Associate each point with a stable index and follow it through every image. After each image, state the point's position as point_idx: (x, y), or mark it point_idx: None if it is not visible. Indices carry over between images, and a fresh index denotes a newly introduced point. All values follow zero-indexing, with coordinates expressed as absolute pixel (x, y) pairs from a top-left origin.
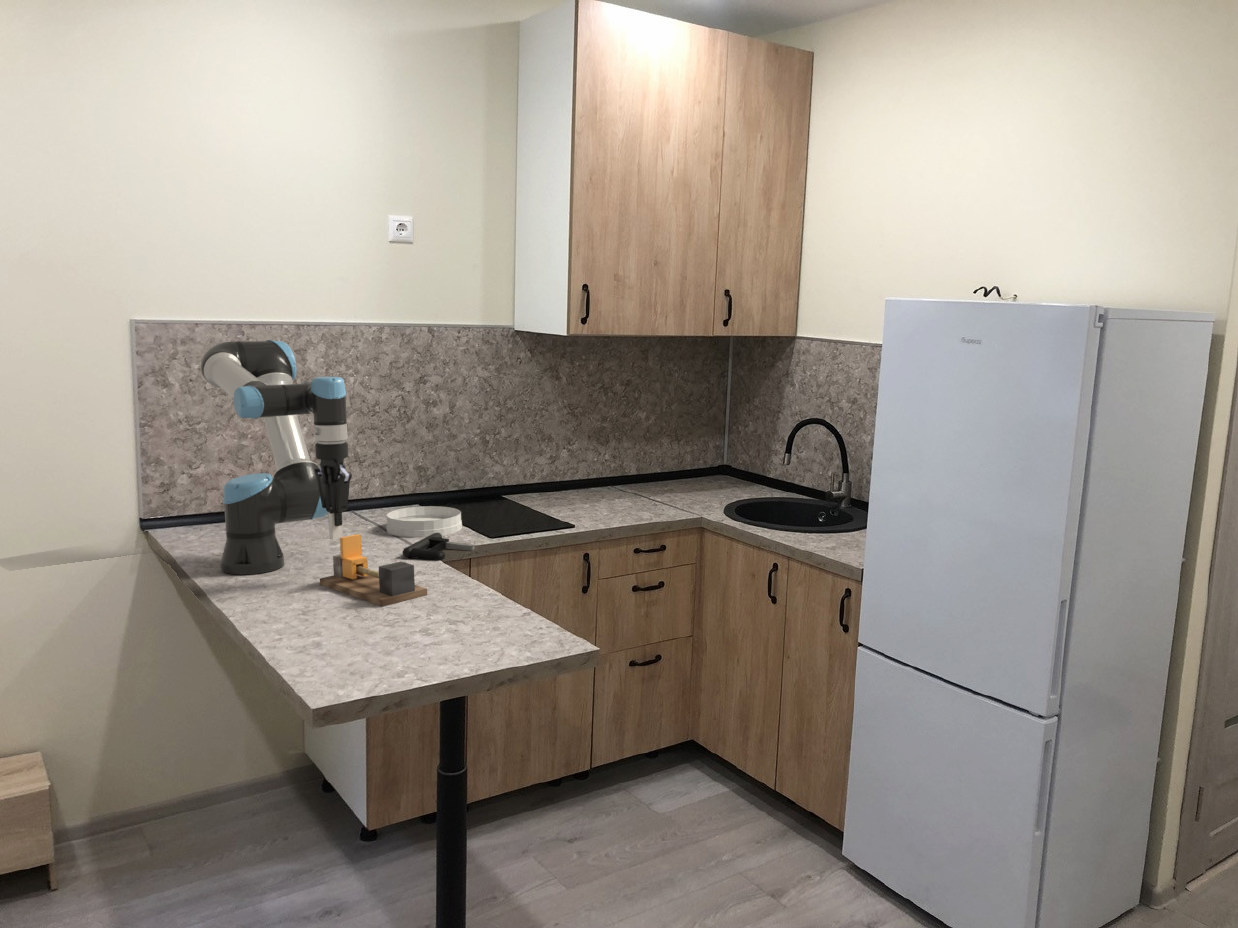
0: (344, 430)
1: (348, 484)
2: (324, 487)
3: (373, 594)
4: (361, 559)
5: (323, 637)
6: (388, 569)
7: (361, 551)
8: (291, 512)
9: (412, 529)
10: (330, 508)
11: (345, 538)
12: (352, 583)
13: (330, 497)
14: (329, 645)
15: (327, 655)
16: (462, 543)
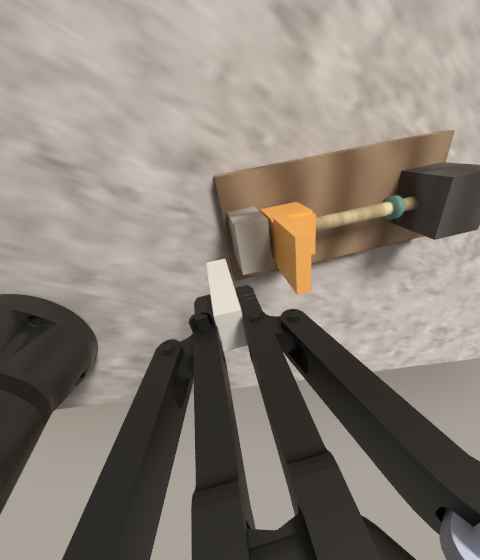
0: None
1: (438, 437)
2: (160, 476)
3: (391, 236)
4: (314, 228)
5: (432, 322)
6: (467, 231)
7: (289, 218)
8: None
9: None
10: (222, 355)
11: (309, 282)
12: None
13: (231, 401)
14: (454, 322)
15: (469, 328)
16: None
